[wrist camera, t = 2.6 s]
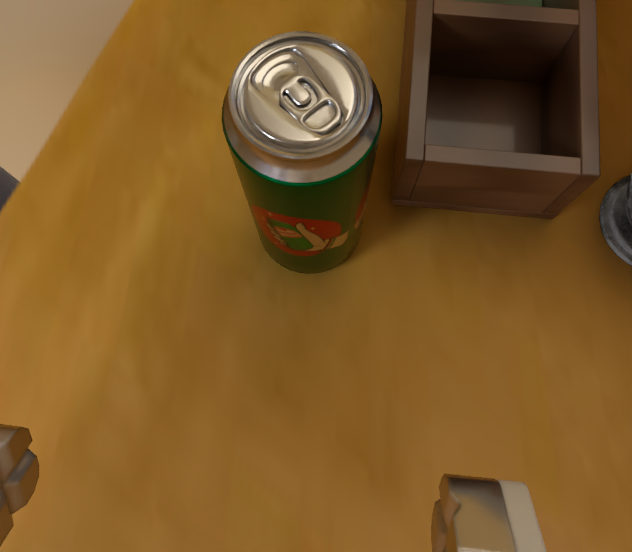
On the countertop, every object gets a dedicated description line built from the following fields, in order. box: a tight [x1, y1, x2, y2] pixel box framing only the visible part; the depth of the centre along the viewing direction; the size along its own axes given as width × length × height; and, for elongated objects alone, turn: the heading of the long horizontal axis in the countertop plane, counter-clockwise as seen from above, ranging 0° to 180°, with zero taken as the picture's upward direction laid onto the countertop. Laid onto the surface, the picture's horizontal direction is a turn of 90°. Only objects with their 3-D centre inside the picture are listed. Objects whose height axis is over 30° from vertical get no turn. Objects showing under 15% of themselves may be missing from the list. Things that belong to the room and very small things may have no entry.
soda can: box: [222, 31, 382, 274], centre depth 22 cm, size 5×5×12 cm
